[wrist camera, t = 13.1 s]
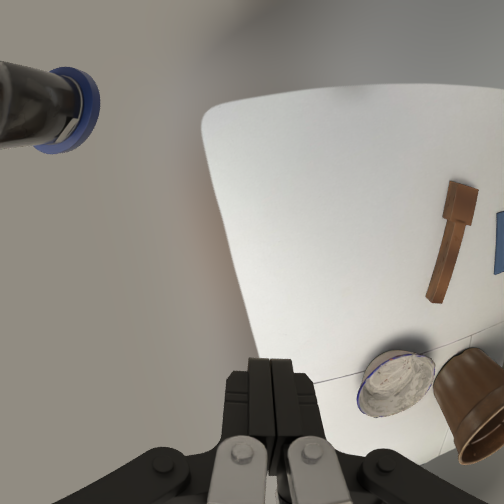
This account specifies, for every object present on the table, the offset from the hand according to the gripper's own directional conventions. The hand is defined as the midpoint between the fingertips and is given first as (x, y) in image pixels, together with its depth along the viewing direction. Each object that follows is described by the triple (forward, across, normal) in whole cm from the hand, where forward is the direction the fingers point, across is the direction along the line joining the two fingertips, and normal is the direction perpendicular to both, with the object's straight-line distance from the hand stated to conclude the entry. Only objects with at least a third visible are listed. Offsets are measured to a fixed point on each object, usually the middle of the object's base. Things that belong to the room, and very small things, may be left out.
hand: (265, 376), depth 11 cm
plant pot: (+27, -40, +26) cm, 54 cm away
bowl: (+27, -23, +23) cm, 42 cm away
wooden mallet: (+27, -26, +1) cm, 38 cm away
